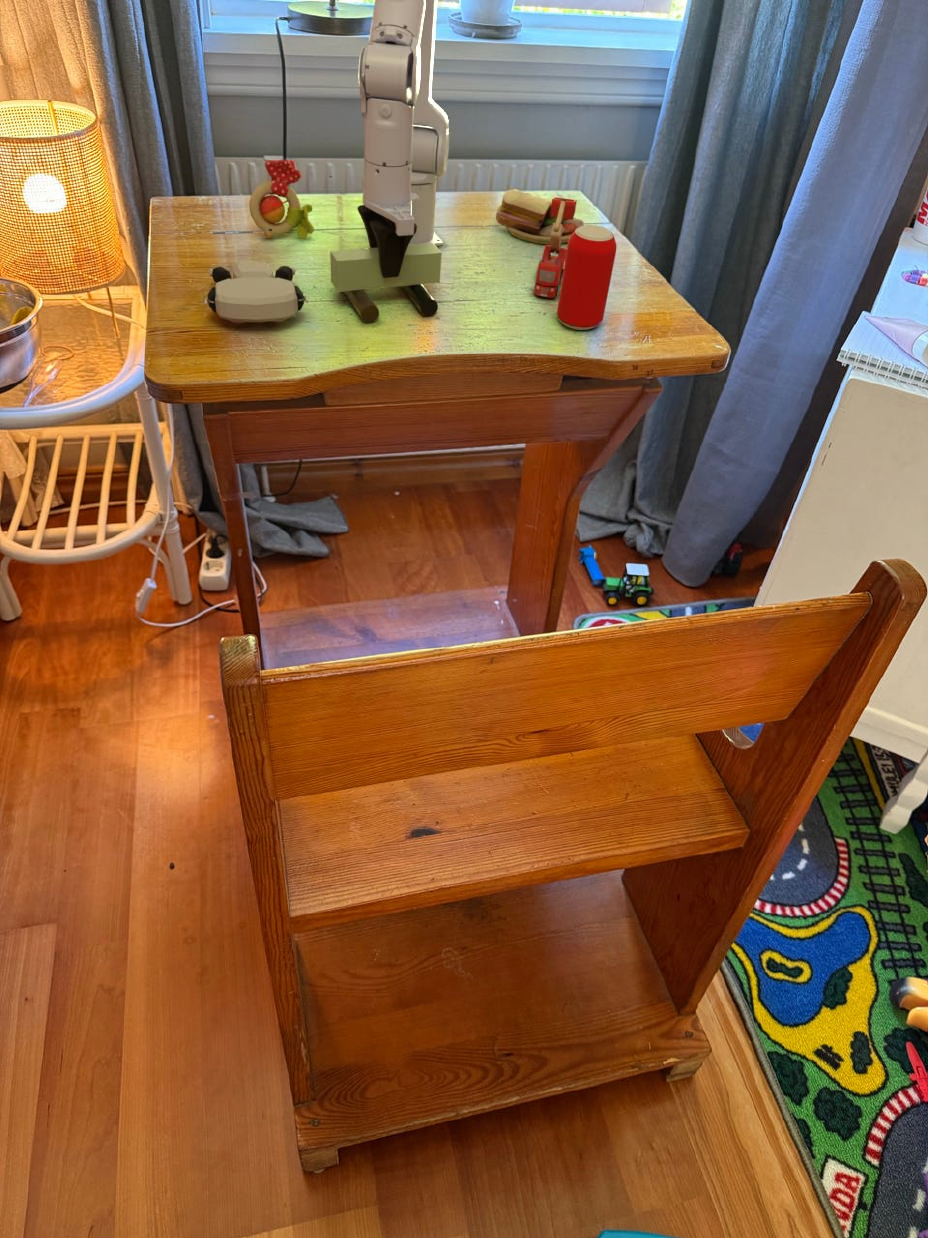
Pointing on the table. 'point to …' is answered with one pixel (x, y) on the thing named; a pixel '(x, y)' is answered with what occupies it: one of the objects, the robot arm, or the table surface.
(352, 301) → the walnut rod
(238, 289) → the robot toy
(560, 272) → the toy fire truck
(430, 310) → the black rod
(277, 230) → the bird rattle
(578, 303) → the beverage can
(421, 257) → the bar
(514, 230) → the toy sandwich meal
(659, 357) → the table surface
